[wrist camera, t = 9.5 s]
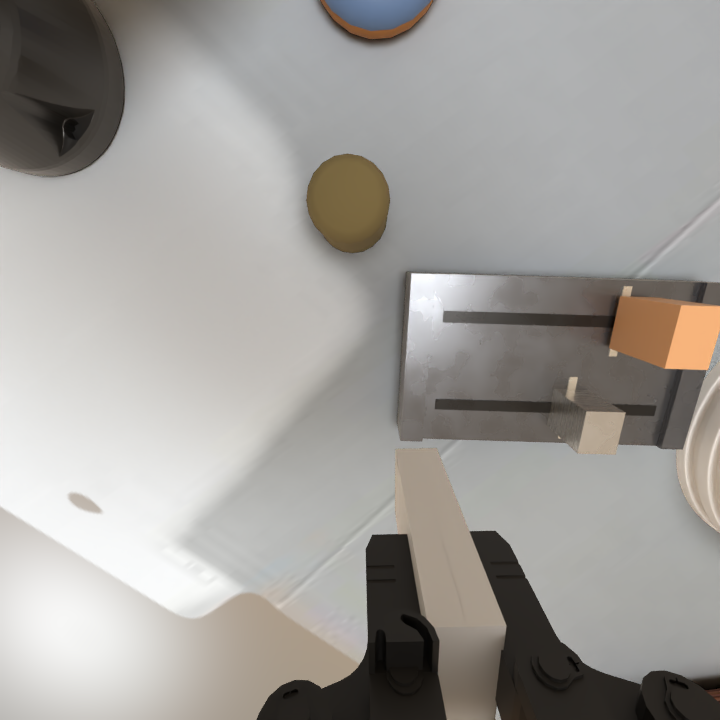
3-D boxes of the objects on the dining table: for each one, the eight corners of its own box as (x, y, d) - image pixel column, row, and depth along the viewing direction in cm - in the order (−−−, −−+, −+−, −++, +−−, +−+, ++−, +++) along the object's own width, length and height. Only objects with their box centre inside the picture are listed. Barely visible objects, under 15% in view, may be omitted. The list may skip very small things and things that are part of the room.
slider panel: (406, 271, 33) (419, 276, 25) (693, 280, 33) (794, 287, 25) (397, 423, 37) (405, 467, 29) (653, 431, 37) (728, 477, 29)
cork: (360, 163, 31) (358, 113, 20) (400, 225, 32) (419, 208, 21) (303, 208, 32) (274, 184, 21) (345, 267, 33) (336, 271, 22)
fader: (620, 296, 30) (681, 305, 24) (656, 297, 30) (726, 306, 24) (608, 348, 31) (664, 368, 25) (644, 349, 31) (707, 370, 25)
